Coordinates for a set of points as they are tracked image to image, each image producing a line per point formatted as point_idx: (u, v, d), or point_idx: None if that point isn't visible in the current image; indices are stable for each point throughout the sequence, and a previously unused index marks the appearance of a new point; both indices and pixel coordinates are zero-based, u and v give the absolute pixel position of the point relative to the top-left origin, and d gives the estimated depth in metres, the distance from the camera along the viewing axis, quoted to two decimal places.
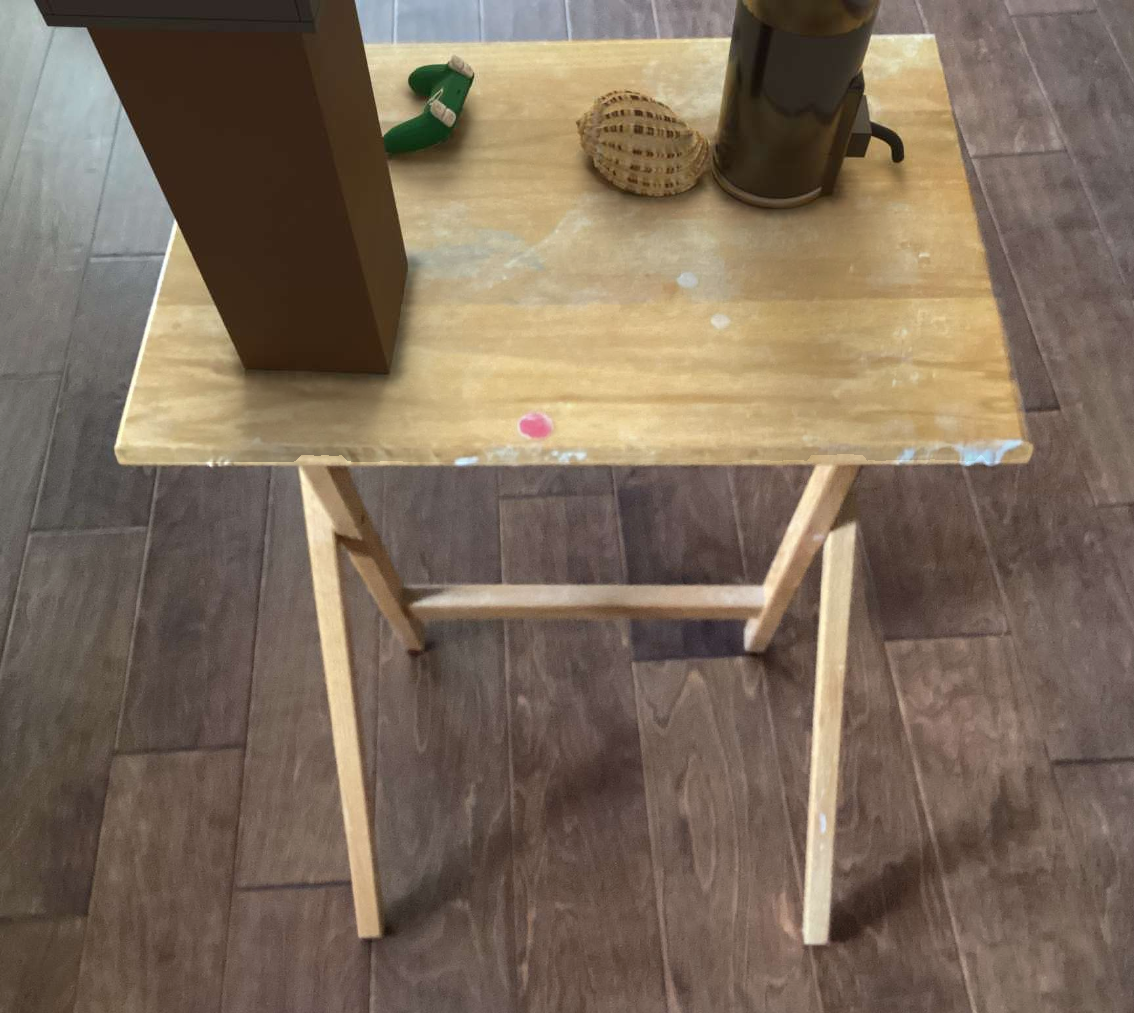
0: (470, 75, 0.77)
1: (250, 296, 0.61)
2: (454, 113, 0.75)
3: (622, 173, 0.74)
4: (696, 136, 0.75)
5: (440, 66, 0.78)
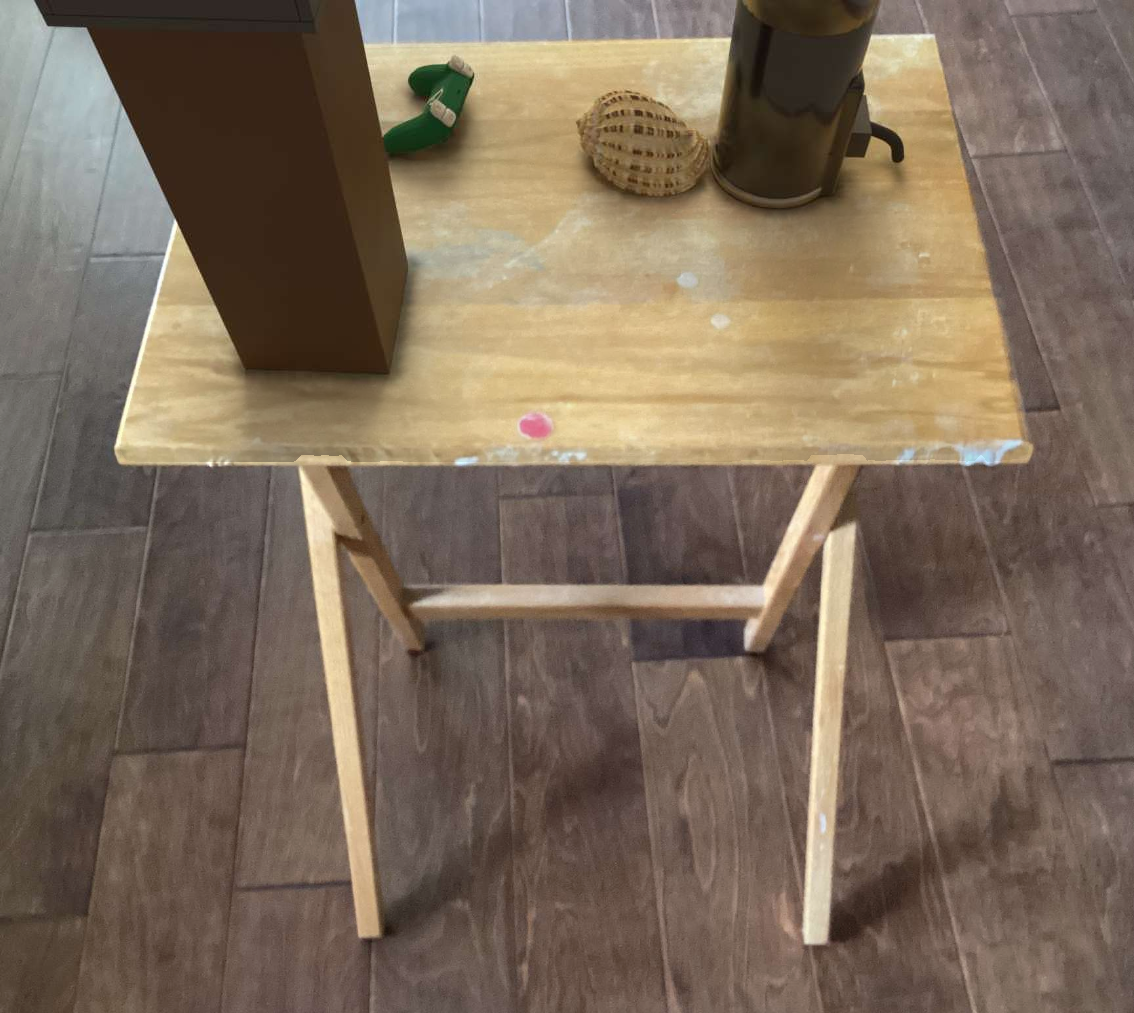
0: (470, 75, 0.77)
1: (250, 296, 0.61)
2: (454, 113, 0.75)
3: (622, 173, 0.74)
4: (696, 136, 0.75)
5: (440, 66, 0.78)
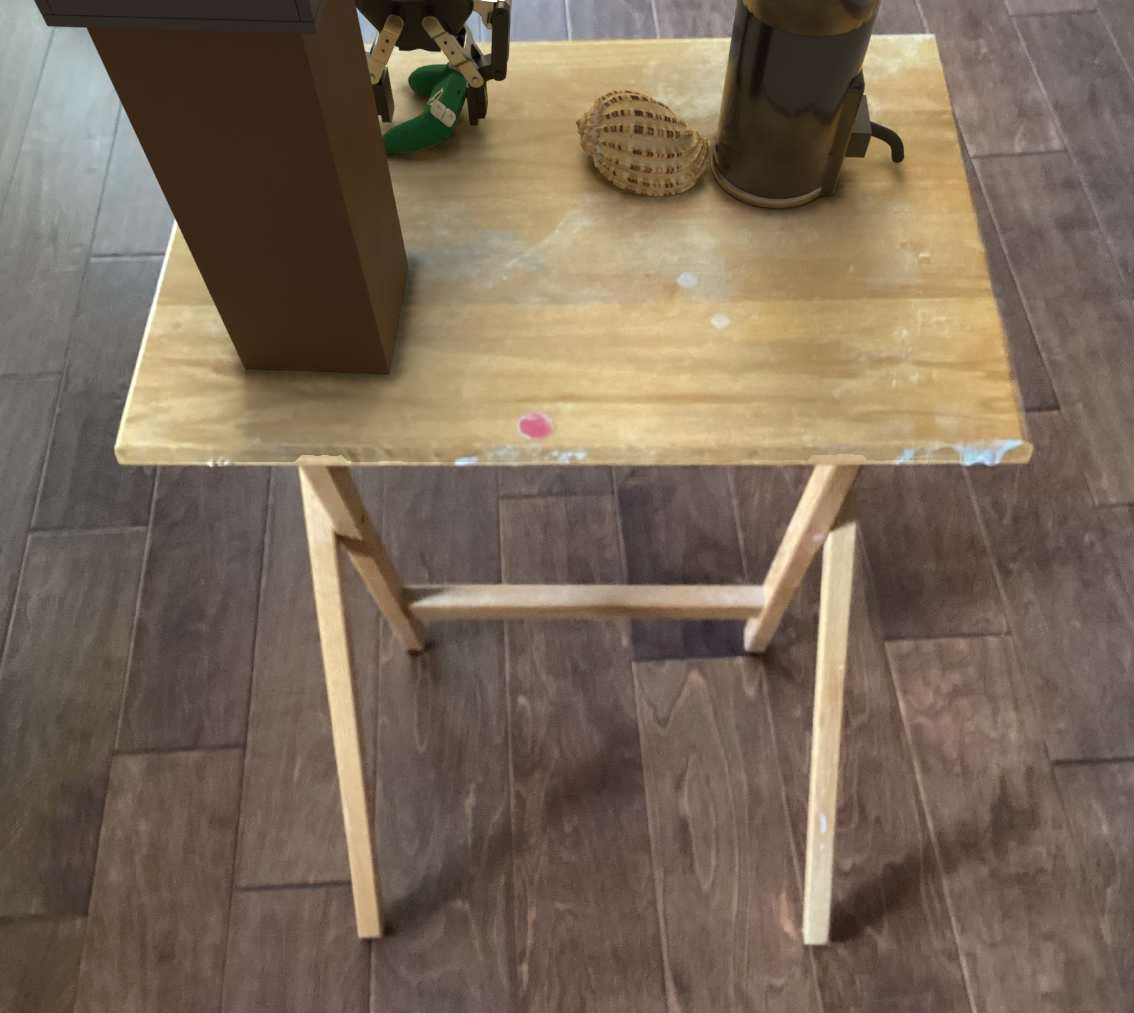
0: None
1: (250, 296, 0.61)
2: (454, 113, 0.75)
3: (622, 174, 0.74)
4: (696, 136, 0.75)
5: (440, 66, 0.78)
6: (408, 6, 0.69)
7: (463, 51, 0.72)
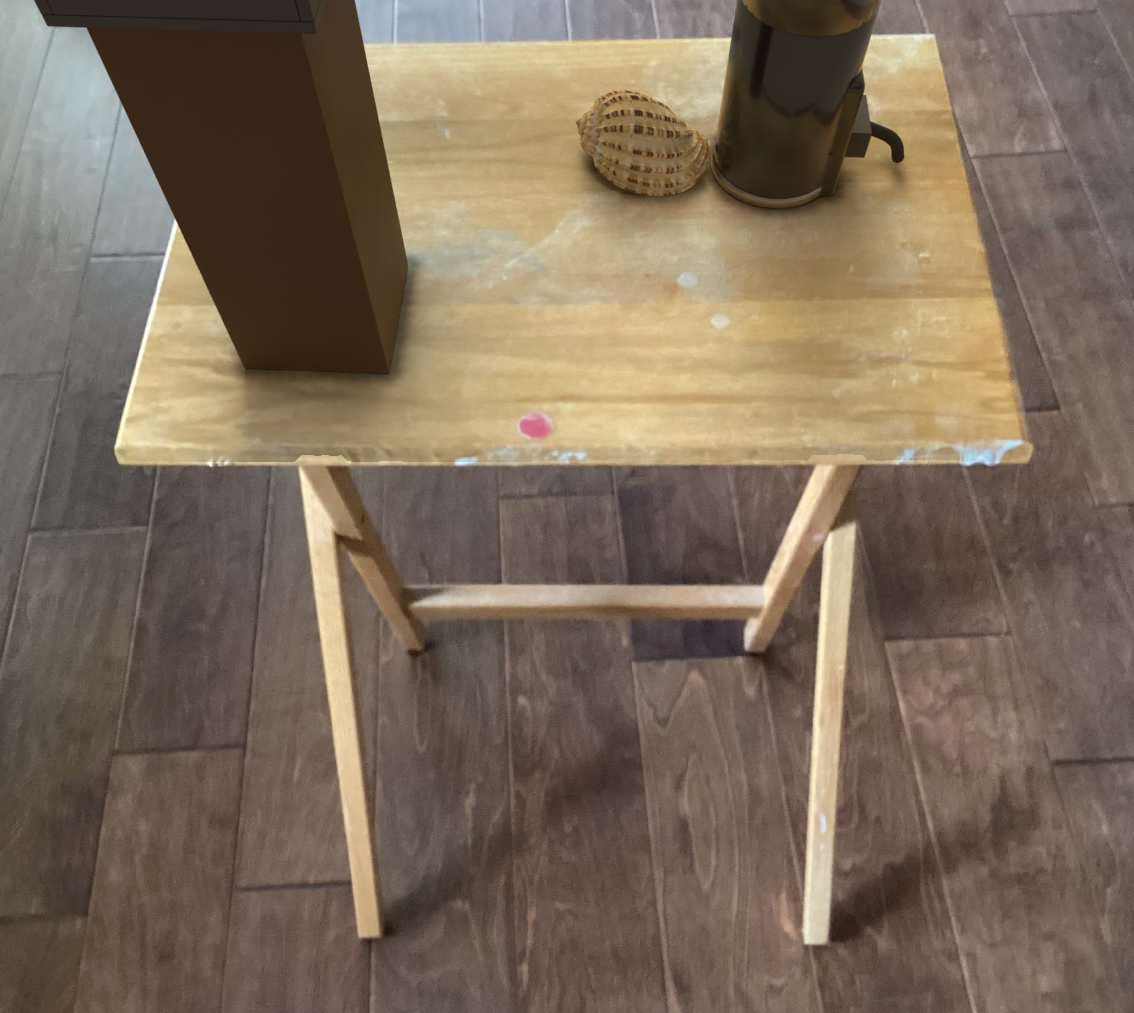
0: None
1: (250, 296, 0.61)
2: None
3: (622, 173, 0.74)
4: (696, 136, 0.75)
5: None
6: None
7: None
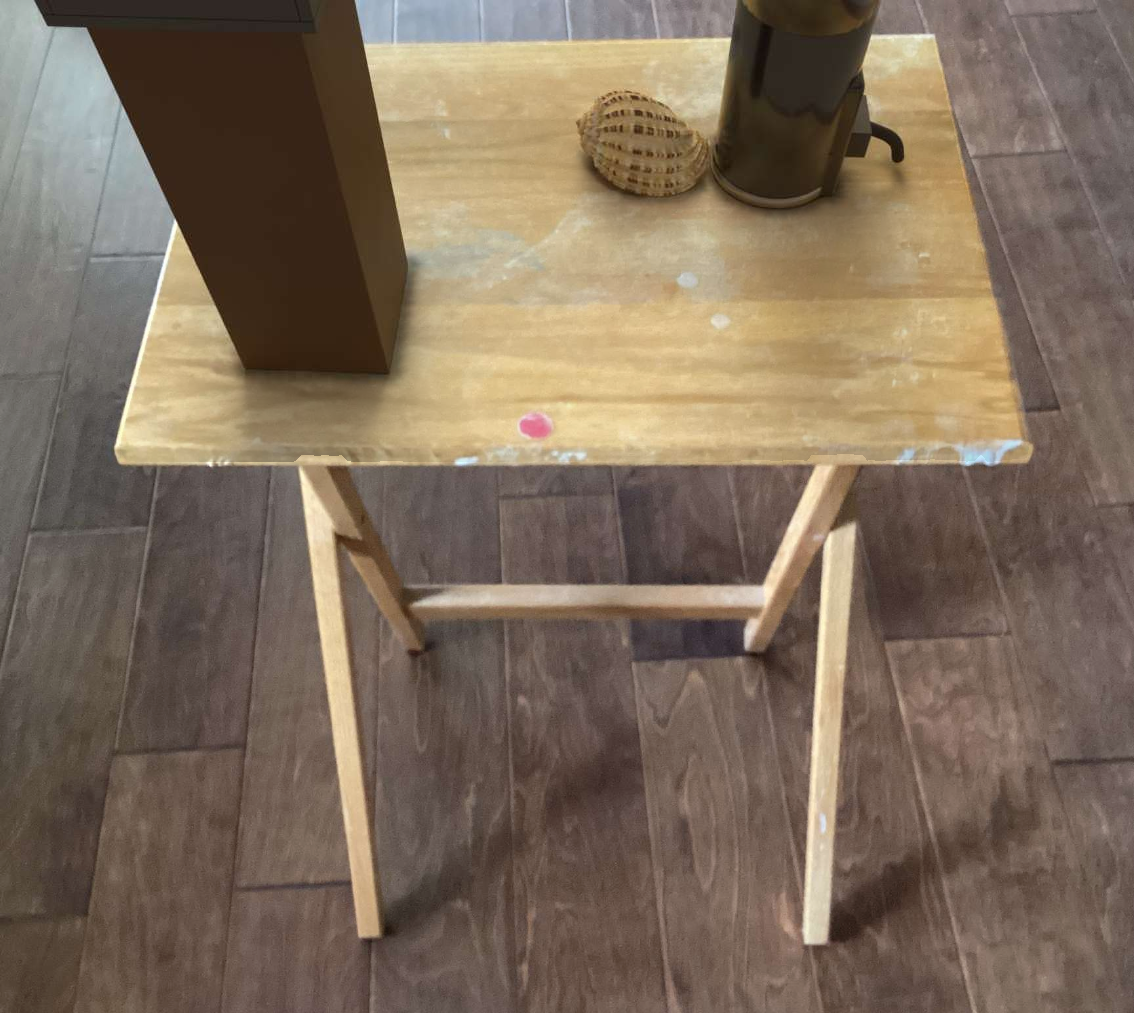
0: None
1: (250, 296, 0.61)
2: None
3: (622, 173, 0.74)
4: (696, 136, 0.75)
5: None
6: None
7: None
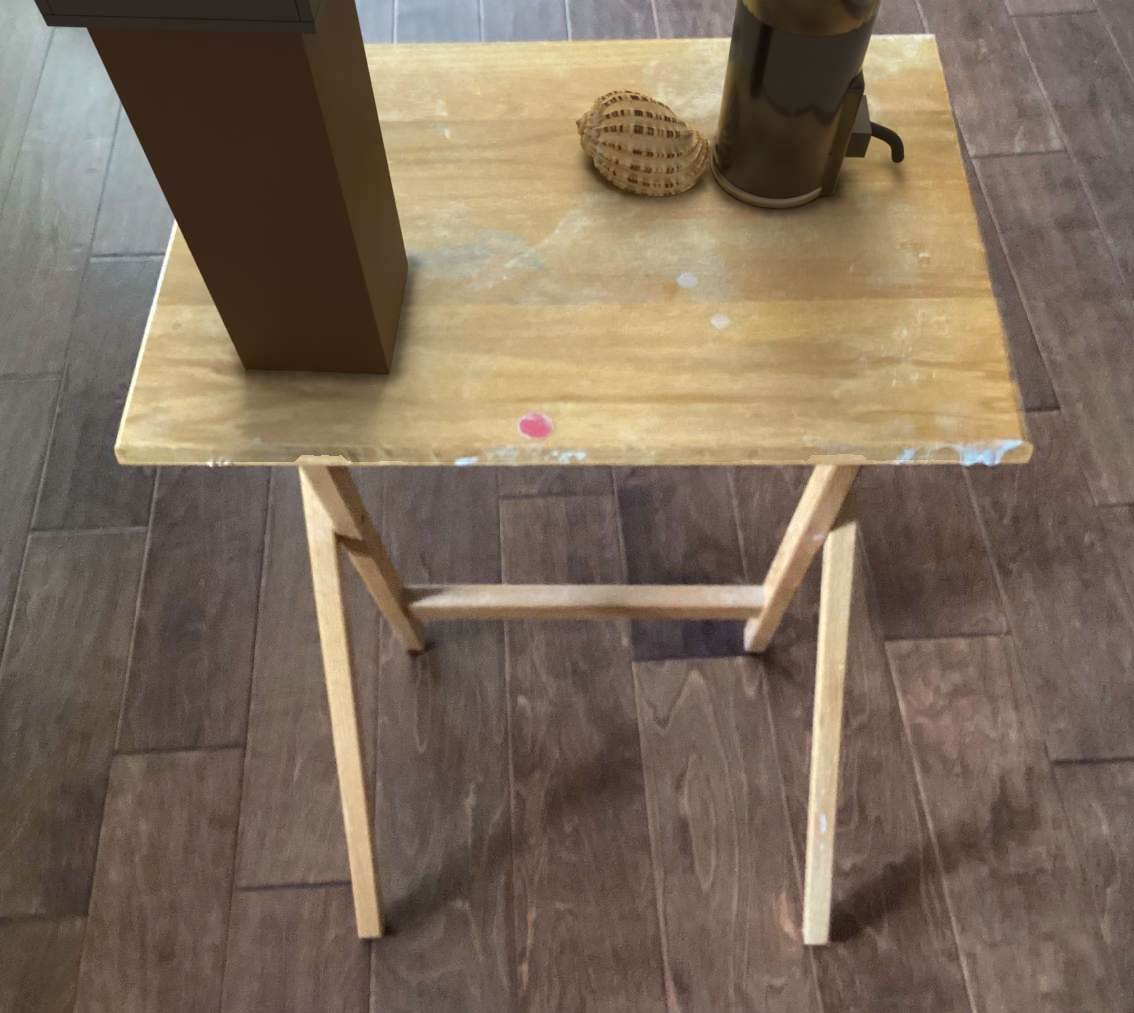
0: None
1: (250, 296, 0.61)
2: None
3: (622, 173, 0.74)
4: (696, 136, 0.75)
5: None
6: None
7: None
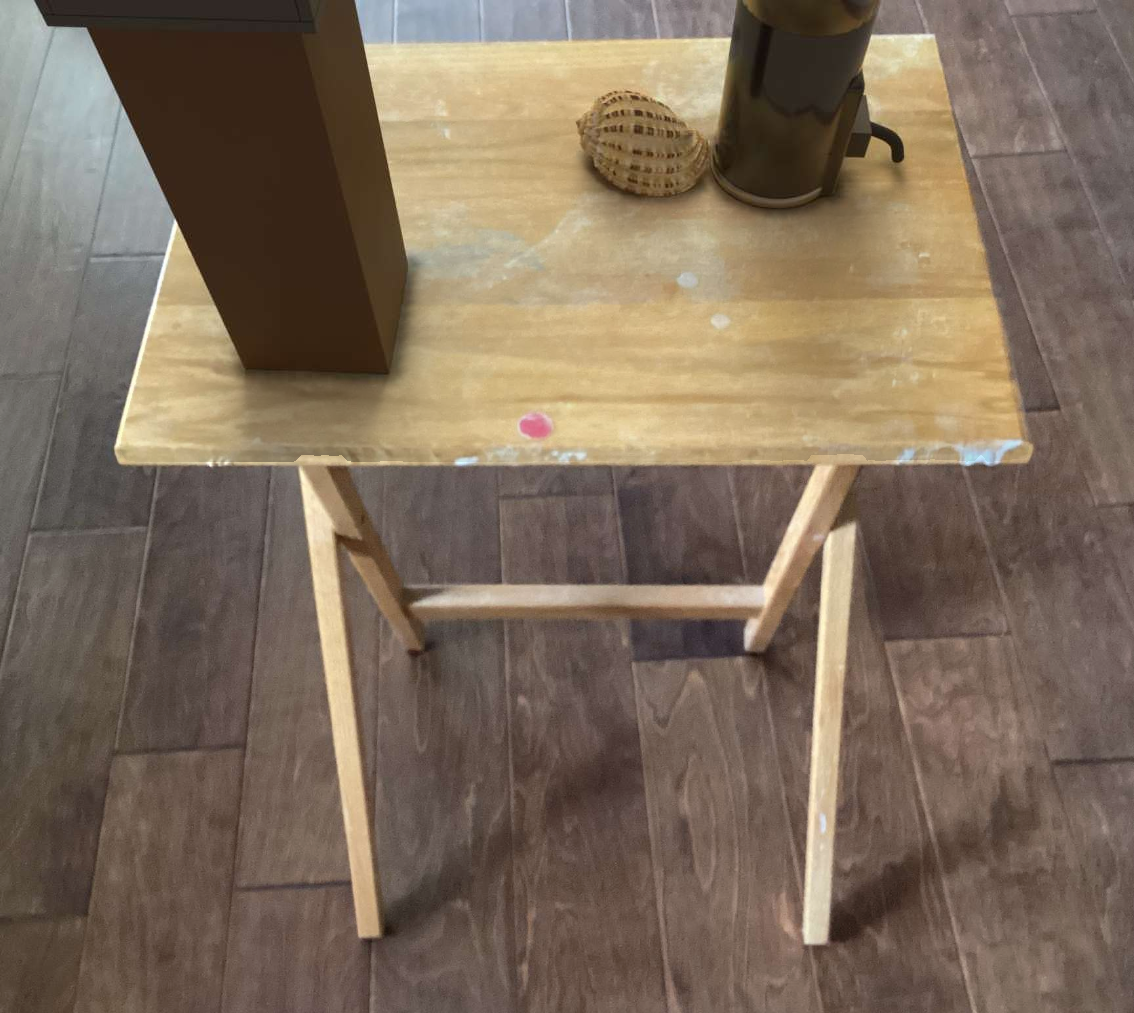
0: None
1: (250, 296, 0.61)
2: None
3: (622, 173, 0.74)
4: (696, 136, 0.75)
5: None
6: None
7: None
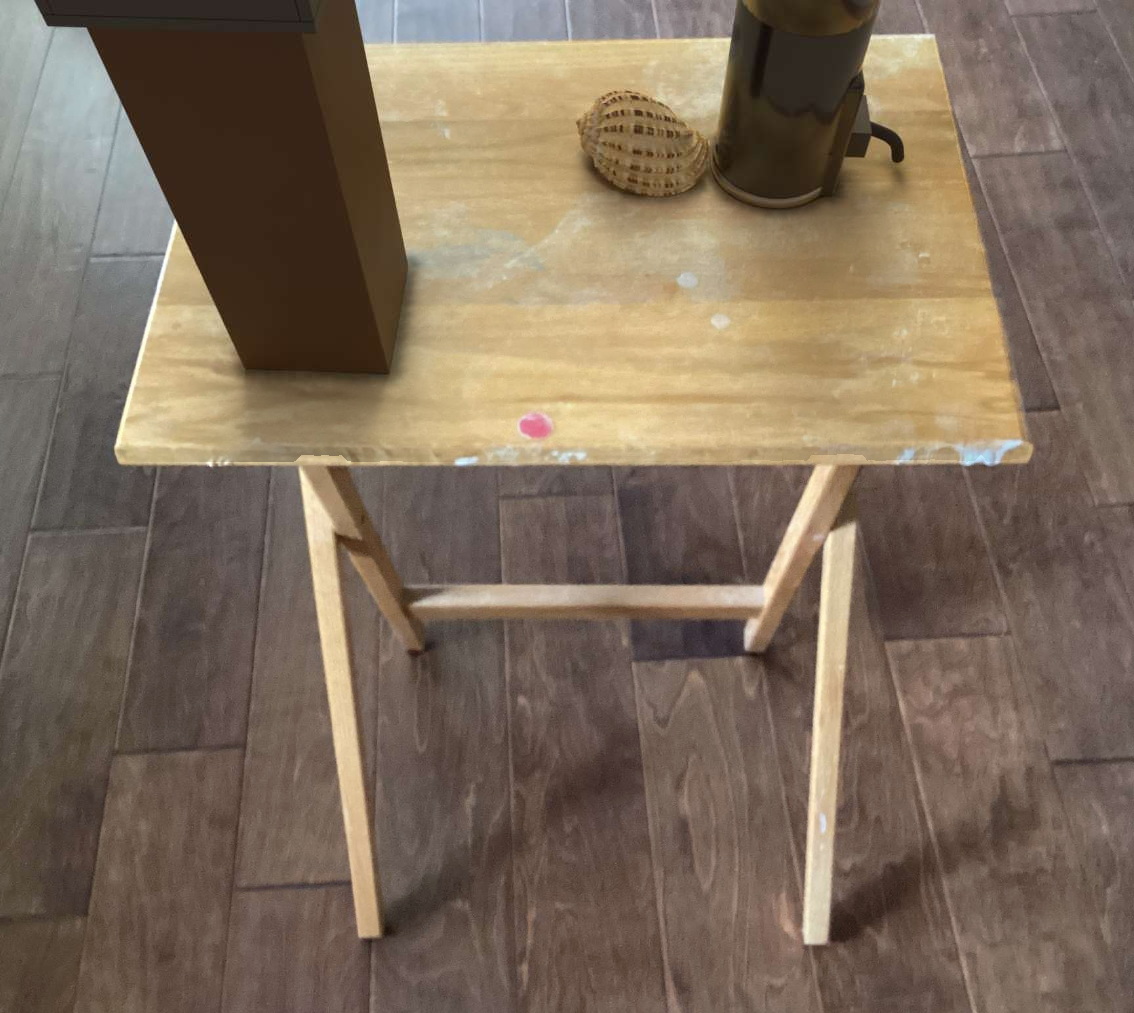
0: None
1: (250, 296, 0.61)
2: None
3: (622, 173, 0.74)
4: (696, 136, 0.75)
5: None
6: None
7: None
